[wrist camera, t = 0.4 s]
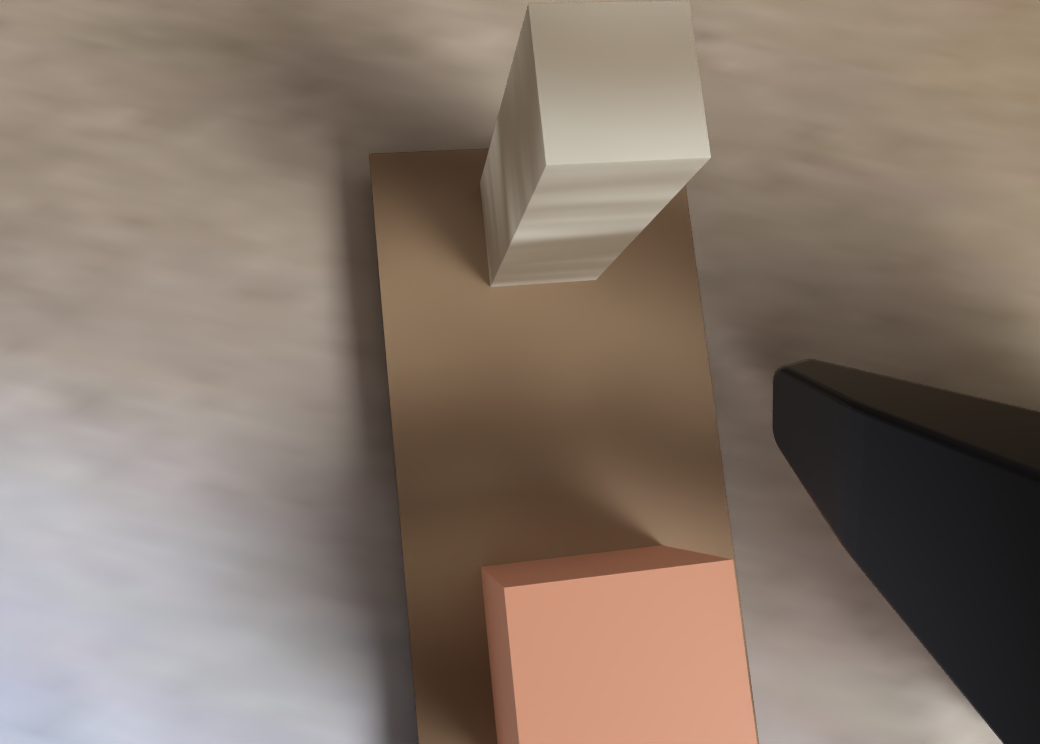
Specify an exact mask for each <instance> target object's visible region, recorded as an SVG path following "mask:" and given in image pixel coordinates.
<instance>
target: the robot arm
mask: <svg viewBox="0 0 1040 744" xmlns="http://www.w3.org/2000/svg"><path fill="white" fill-rule="evenodd" d="M773 433H774V437H775V440H776V443H777V445H778V447H779V449H780V450H781V452H782V453H783V455H784V456H785V458H786V460H787V461H788V463H789V464H790V466H791V467H792V469H793V470H794V472H795V474H796V475H797V477H798V478H799V480H800V481H801V483H802V484H803V486H804V488H805V489H806V491H807V492H808V494H809V495H810V497H811V498H812V500H813V502H814V503H815V505H816V506H817V508H818V509H819V511H820V512H821V514H822V516H823V517H824V519H825V520H826V522H827V523H828V525H829V526H830V528H831V529H832V531H833V532H834V534H835V535H836V537H837V538H838V540H839V541H840V543H841V544H842V545H843V547H844V548H845V549H846V551H847V552H848V553H849V554H850V556H851V557H852V558H853V560H854V561H855V562H856V563H857V565H858V566H859V567H860V568H861V570H862V571H863V572H864V573H865V574H866V576H867V577H868V578H869V579H870V581H871V582H872V583H873V584H874V585H875V587H876V588H877V589H878V590H879V592H880V593H881V594H882V595H883V597H884V598H885V599H886V600H887V601H888V603H889V604H890V605H891V606H892V608H893V609H894V610H895V611H896V612H897V614H898V615H899V616H900V617H901V619H902V620H903V621H904V622H905V624H906V625H907V626H908V627H909V628H910V630H911V631H912V632H913V633H914V635H915V636H916V637H917V638H918V639H919V641H920V642H921V643H922V644H923V646H924V647H925V648H926V649H927V651H928V652H929V653H930V654H931V655H932V657H933V658H934V659H935V660H936V662H937V663H938V664H939V665H940V666H941V668H942V669H943V670H944V671H945V673H946V674H947V675H948V676H949V678H950V679H951V680H952V681H953V682H954V684H955V685H956V686H957V687H958V689H959V690H960V691H961V692H962V693H963V695H964V696H965V697H966V698H967V700H968V701H969V702H970V703H971V705H972V706H973V707H974V708H975V709H976V711H977V712H978V713H979V714H980V716H981V717H982V718H983V719H984V720H985V722H986V723H987V724H988V725H989V727H990V728H991V729H992V730H993V732H994V733H995V734H996V735H997V736H998V738H999V739H1000V740H1001V741H1002V743H1003V744H1040V412H1039V411H1034V410H1030V409H1026V408H1021V407H1017V406H1013V405H1008V404H1004V403H1000V402H995V401H991V400H987V399H983V398H978V397H974V396H970V395H965V394H961V393H957V392H952V391H948V390H944V389H939V388H935V387H931V386H926V385H922V384H918V383H914V382H909V381H905V380H901V379H896V378H892V377H888V376H883V375H879V374H875V373H870V372H866V371H862V370H858V369H853V368H849V367H845V366H840V365H836V364H832V363H827V362H823V361H819V360H814V359H805V360H801V361H797V362H794V363H790V364H787V365H783V366H780V367H779V368H778V369H777V370H776V371H775V374H774V378H773Z"/></svg>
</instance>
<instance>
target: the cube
mask: <svg viewBox="0 0 1040 744" xmlns="http://www.w3.org/2000/svg"><path fill="white" fill-rule="evenodd" d="M481 576H482V586H483V597H484V607H485V618H486V628H487V639H488V649H489V660H490V670H491V681H492V691H493V702H494V712H495V723H496V733H497V744H757V738H756V730H755V723H754V715H753V707H752V700H751V692H750V684H749V677H748V669H747V662H746V654H745V646H744V639H743V631H742V624H741V616H740V608H739V601H738V593H737V585H736V578H735V570H734V563H733V559H728V558H723V557H718V556H713V555H708V554H703V553H698V552H693V551H689V550H684V549H679V548H674V547H669V546H664V545H660V546H651V547H643V548H635V549H626V550H618V551H609V552H601V553H593V554H584V555H576V556H567V557H559V558H551V559H542V560H534V561H525V562H517V563H509V564H500V565H492V566H483V567H481Z"/></svg>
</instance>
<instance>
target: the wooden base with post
mask: <svg viewBox="0 0 1040 744" xmlns="http://www.w3.org/2000/svg"><path fill="white" fill-rule="evenodd" d="M710 158H711V155H710V147H709V140H708V133H707V125H706V118H705V111H704V103H703V96H702V88H701V81H700V74H699V66H698V59H697V52H696V44H695V37H694V30H693V22H692V15H691V8H690V1H648V2H589V3H530V4H528V7H527V10H526V14H525V18H524V21H523V25H522V29H521V33H520V36H519V40H518V44H517V47H516V51H515V55H514V59H513V62H512V66H511V70H510V73H509V77H508V81H507V85H506V88H505V92H504V96H503V99H502V103H501V107H500V111H499V114H498V118H497V122H496V125H495V129H494V133H493V137H492V140H491V144H490V148H489V149H468V150H445V151H422V152H398V153H375V154H369V160H370V172H371V183H372V195H373V207H374V219H375V231H376V243H377V255H378V266H379V278H380V290H381V302H382V314H383V326H384V338H385V349H386V361H387V373H388V385H389V397H390V409H391V421H392V432H393V444H394V456H395V468H396V480H397V492H398V504H399V515H400V527H401V539H402V551H403V563H404V575H405V587H406V598H407V610H408V622H409V634H410V646H411V658H412V670H413V681H414V693H415V705H416V717H417V729H418V741H419V744H497V733H496V723H495V712H494V702H493V691H492V681H491V670H490V660H489V649H488V639H487V628H486V618H485V607H484V597H483V586H482V576H481V567H483V566H492V565H500V564H509V563H517V562H525V561H534V560H542V559H551V558H559V557H567V556H576V555H584V554H593V553H601V552H609V551H618V550H626V549H635V548H643V547H651V546H660V545H664V546H669V547H674V548H679V549H684V550H689V551H693V552H698V553H703V554H708V555H713V556H718V557H723V558H728V559H733V563H734V570H735V578H736V585H737V593H738V601H739V608H740V616H741V624H742V631H743V639H744V646H745V654H746V662H747V669H748V677H749V684H750V692H751V700H752V707H753V715H754V723H755V730H756V738H757V744H759V740H758V732H757V724H756V717H755V709H754V702H753V694H752V686H751V679H750V671H749V664H748V656H747V648H746V641H745V633H744V626H743V618H742V610H741V603H740V595H739V588H738V580H737V572H736V565H735V557H734V550H733V542H732V534H731V527H730V519H729V512H728V504H727V496H726V489H725V481H724V474H723V466H722V458H721V451H720V443H719V436H718V428H717V420H716V413H715V405H714V398H713V390H712V382H711V375H710V367H709V360H708V352H707V344H706V337H705V329H704V322H703V314H702V306H701V299H700V291H699V284H698V276H697V268H696V261H695V253H694V246H693V238H692V230H691V223H690V215H689V208H688V200H687V192H686V184H687V182H688V181H689V180H690V179H691V178H692V177H693V176H694V175H695V174H696V173H697V172H698V171H699V170H700V169H701V168H702V167H703V165H704V164H705V163H706V162H707V161H708V160H709V159H710Z"/></svg>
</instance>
